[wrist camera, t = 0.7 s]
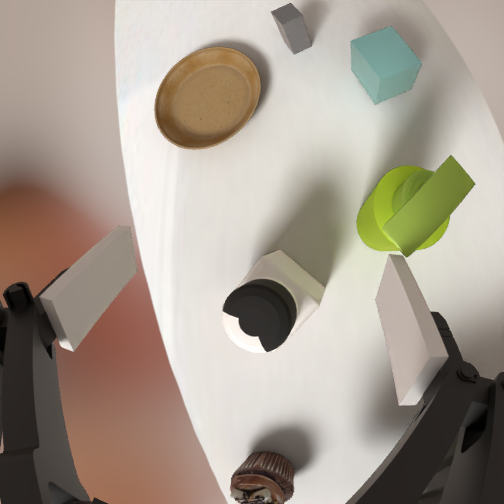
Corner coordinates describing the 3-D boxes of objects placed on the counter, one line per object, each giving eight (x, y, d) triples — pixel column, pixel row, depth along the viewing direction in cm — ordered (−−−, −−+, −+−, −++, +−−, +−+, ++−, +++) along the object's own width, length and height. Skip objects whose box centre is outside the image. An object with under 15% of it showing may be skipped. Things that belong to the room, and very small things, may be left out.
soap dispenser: (338, 228, 32) (352, 194, 13) (382, 186, 31) (440, 107, 12) (374, 268, 31) (434, 291, 12) (417, 226, 30) (514, 194, 11)
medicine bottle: (279, 247, 35) (246, 260, 24) (326, 288, 34) (316, 320, 23) (243, 292, 37) (197, 322, 26) (287, 331, 36) (259, 377, 24)
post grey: (311, 46, 31) (302, 15, 25) (294, 54, 32) (281, 24, 25) (301, 33, 31) (290, 2, 25) (284, 41, 32) (270, 11, 25)
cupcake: (230, 453, 40) (204, 493, 31) (283, 441, 37) (264, 488, 28) (258, 488, 40) (239, 528, 30) (310, 479, 37) (297, 524, 27)
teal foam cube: (411, 89, 27) (421, 63, 21) (375, 104, 29) (380, 80, 23) (386, 55, 28) (391, 26, 21) (351, 70, 29) (350, 41, 23)
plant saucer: (264, 47, 33) (259, 37, 31) (267, 148, 35) (261, 142, 32) (168, 67, 38) (159, 60, 35) (162, 159, 39) (151, 156, 37)
